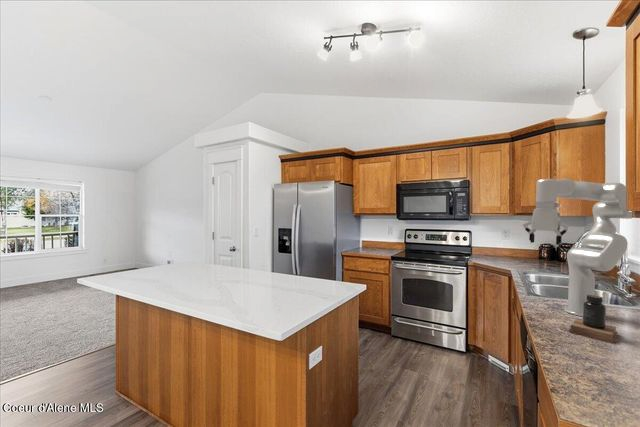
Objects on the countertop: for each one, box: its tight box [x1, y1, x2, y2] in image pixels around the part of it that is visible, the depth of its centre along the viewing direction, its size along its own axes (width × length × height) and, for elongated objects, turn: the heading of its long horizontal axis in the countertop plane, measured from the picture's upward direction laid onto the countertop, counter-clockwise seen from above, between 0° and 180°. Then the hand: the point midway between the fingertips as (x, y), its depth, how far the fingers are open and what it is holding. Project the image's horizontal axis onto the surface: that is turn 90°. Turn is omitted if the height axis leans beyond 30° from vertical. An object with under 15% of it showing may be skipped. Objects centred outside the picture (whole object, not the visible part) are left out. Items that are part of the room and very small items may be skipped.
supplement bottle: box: [582, 294, 607, 329], centre depth 121 cm, size 7×7×12 cm
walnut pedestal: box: [568, 317, 618, 344], centre depth 121 cm, size 13×13×3 cm
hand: (544, 243), depth 138 cm, fingers open, 9 cm apart
